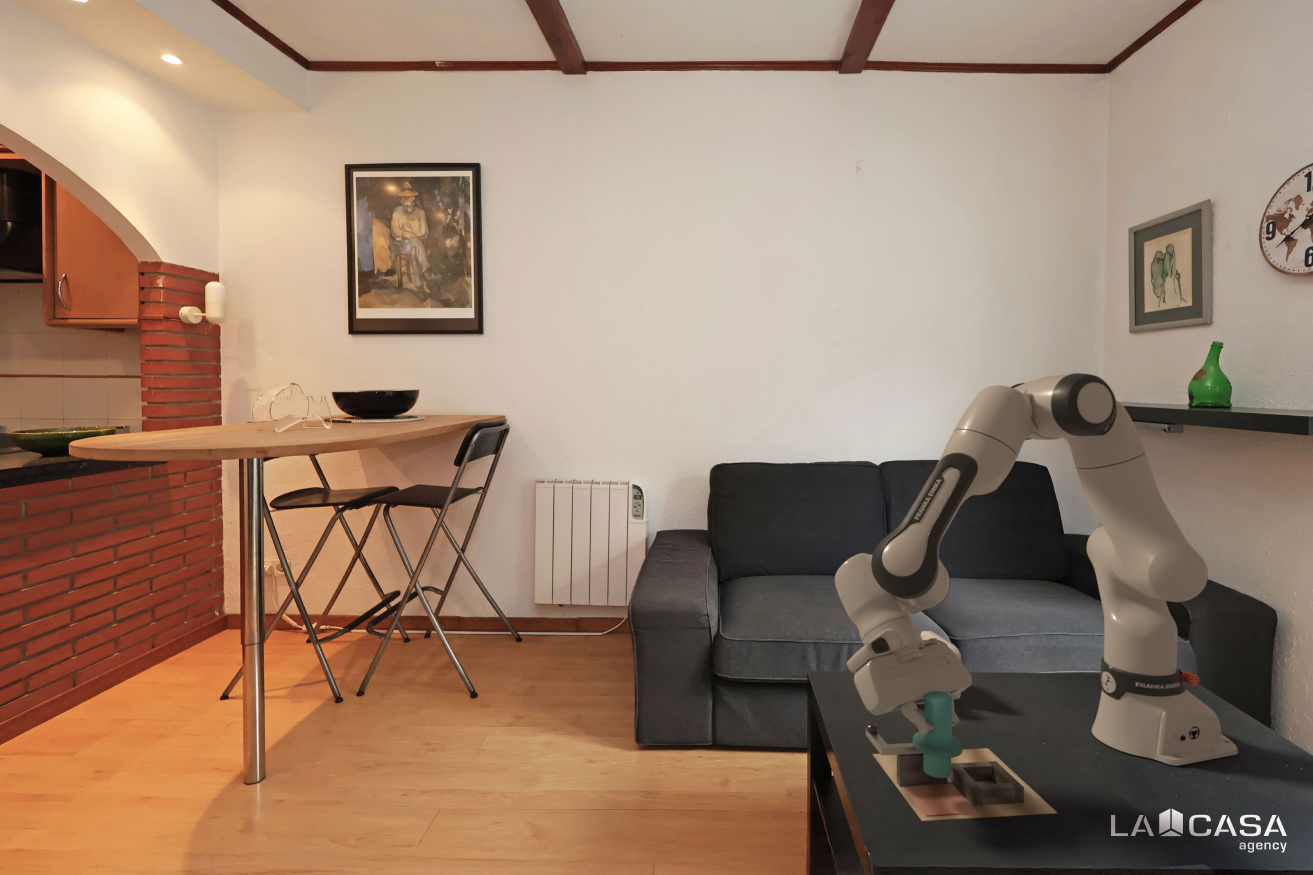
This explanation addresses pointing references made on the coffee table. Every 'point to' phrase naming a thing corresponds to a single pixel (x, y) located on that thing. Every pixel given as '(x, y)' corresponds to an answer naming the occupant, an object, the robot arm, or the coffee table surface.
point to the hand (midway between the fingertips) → (941, 728)
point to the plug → (938, 736)
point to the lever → (888, 748)
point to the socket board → (963, 787)
